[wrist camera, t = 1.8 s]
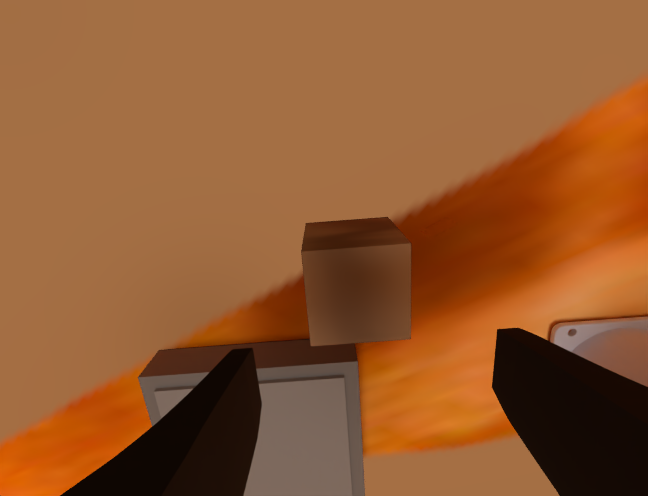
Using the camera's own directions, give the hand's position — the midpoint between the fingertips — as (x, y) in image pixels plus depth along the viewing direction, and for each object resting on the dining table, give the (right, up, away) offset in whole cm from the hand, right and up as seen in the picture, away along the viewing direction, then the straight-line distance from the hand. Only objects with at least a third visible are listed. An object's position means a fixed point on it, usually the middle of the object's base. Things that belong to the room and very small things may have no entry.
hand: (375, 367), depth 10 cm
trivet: (-5, -8, +13) cm, 16 cm away
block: (0, +3, +9) cm, 10 cm away
